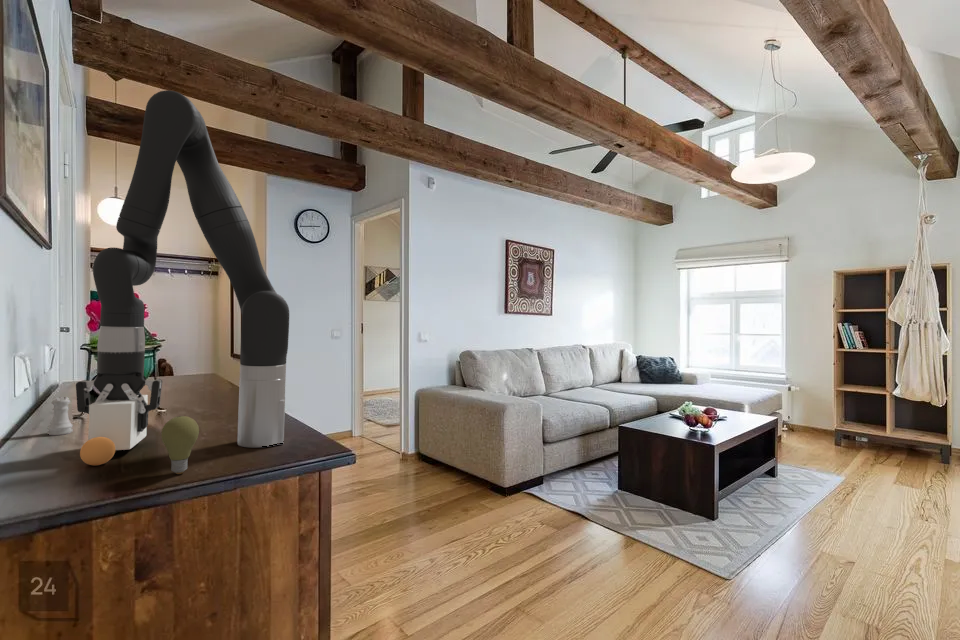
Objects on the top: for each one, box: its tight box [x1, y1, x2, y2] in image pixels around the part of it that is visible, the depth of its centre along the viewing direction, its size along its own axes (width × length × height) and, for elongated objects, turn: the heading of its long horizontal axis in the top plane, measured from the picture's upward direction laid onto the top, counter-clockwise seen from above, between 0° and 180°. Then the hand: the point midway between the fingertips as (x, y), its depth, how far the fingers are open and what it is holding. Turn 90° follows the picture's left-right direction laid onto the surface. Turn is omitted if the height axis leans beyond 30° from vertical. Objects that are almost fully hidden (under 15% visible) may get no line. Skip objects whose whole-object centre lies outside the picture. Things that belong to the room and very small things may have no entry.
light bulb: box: [160, 415, 200, 475], centre depth 83 cm, size 6×6×10 cm
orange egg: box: [79, 437, 116, 466], centre depth 86 cm, size 5×5×5 cm
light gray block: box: [87, 394, 149, 451], centre depth 95 cm, size 7×11×9 cm, turn 22°
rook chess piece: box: [46, 396, 74, 436], centre depth 106 cm, size 4×4×8 cm
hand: (119, 431), depth 95 cm, fingers closed on light gray block, 6 cm apart
